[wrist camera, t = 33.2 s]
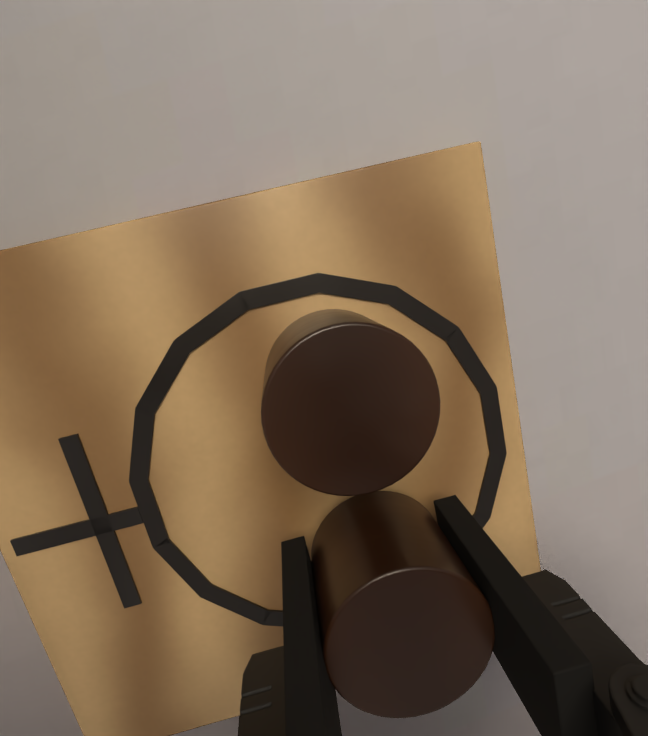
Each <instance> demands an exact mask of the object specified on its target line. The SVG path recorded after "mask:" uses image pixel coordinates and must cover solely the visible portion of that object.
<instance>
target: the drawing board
mask: <svg viewBox="0 0 648 736" xmlns="http://www.w3.org/2000/svg"><path fill="white" fill-rule="evenodd" d="M325 309H342V310H348V311H352V312H355V313H358V314H361V315H363V316H365V317H367V318H369V319H371V320H374V321H376V322H378V323H380V324H382V325H384V326H386V327H388V328H390V329H392V330H394V331H396V332H398V333H400V334H402V335H403V336H404V337H406V338H407V339H408V340H410V341H411V342H412V343H413V344H414V345H415V346H416V347H417V348H418V349H419V350H420V351H421V352H422V353H423V355H424V356H425V357H426V358H427V360H428V362H429V364H430V365H431V367H432V369H433V371H434V374H435V376H436V379H437V383H438V387H439V392H440V417H439V424H438V427H437V431H436V434H435V437H434V439H433V441H432V444H431V446H430V447H429V449H428V451H427V452H426V454H425V456H424V457H423V458H422V460H421V461H420V462H419V463H418V464H417V466H416V467H415V468H414V469H413V470H412V471H411V472H409V473H408V474H407V475H406V476H404V477H403V478H402V479H400V480H399V481H397V482H396V483H394V484H392V485H390V486H388V487H386V488H384V489H382V490H379V491H392V492H398V493H401V494H404V495H407V496H409V497H411V498H413V499H415V500H416V501H418V502H420V503H421V504H422V505H423V506H424V507H425V508H426V509H427V510H428V511H429V512H430V513H431V515H432V516H433V518H434V519H435V521H436V522H437V517H436V512H435V507H434V502H433V501H434V500H438V499H441V498H445V497H449V496H453V495H456V496H457V497H458V499H459V500H460V501H461V502H462V504H463V505H464V506H465V507H466V509H467V510H468V511H469V512H470V514H471V515H472V516H473V517H474V518H475V520H476V521H477V522H478V523H479V525H480V526H481V527H482V528H483V530H484V531H485V532H486V533H487V535H488V536H489V537H490V538H491V540H492V541H493V542H494V543H495V544H496V546H497V547H498V548H499V549H500V551H501V552H502V553H503V554H504V556H505V557H506V558H507V559H508V561H509V562H510V563H511V564H512V565H513V567H514V568H515V569H516V570H517V572H518V573H519V574H520V575H521V577H522V576H526V575H529V574H533V573H536V572H540V571H541V569H540V562H539V555H538V548H537V540H536V533H535V526H534V519H533V512H532V505H531V498H530V491H529V483H528V476H527V469H526V462H525V455H524V448H523V441H522V434H521V427H520V419H519V412H518V405H517V398H516V391H515V384H514V377H513V370H512V362H511V355H510V348H509V341H508V334H507V327H506V320H505V313H504V305H503V298H502V291H501V284H500V277H499V270H498V263H497V256H496V249H495V241H494V234H493V227H492V220H491V213H490V206H489V199H488V192H487V184H486V177H485V170H484V163H483V156H482V149H481V143H480V142H473V143H469V144H465V145H460V146H456V147H451V148H447V149H443V150H438V151H434V152H429V153H425V154H421V155H416V156H412V157H408V158H403V159H399V160H394V161H390V162H386V163H381V164H377V165H372V166H368V167H364V168H359V169H355V170H351V171H346V172H342V173H337V174H333V175H329V176H324V177H320V178H316V179H311V180H307V181H302V182H298V183H294V184H289V185H285V186H280V187H276V188H272V189H267V190H263V191H259V192H254V193H250V194H245V195H241V196H237V197H232V198H228V199H223V200H219V201H215V202H210V203H206V204H202V205H197V206H193V207H188V208H184V209H180V210H175V211H171V212H166V213H162V214H158V215H153V216H149V217H145V218H140V219H136V220H131V221H127V222H123V223H118V224H114V225H110V226H105V227H101V228H96V229H92V230H88V231H83V232H79V233H74V234H70V235H66V236H61V237H57V238H53V239H48V240H44V241H39V242H35V243H31V244H26V245H22V246H17V247H13V248H9V249H4V250H0V550H1V553H2V555H3V557H4V559H5V561H6V564H7V566H8V568H9V570H10V573H11V575H12V577H13V579H14V582H15V584H16V586H17V588H18V590H19V593H20V595H21V597H22V599H23V602H24V604H25V606H26V608H27V610H28V613H29V615H30V617H31V619H32V622H33V624H34V626H35V628H36V630H37V633H38V635H39V637H40V639H41V642H42V644H43V646H44V648H45V651H46V653H47V655H48V657H49V659H50V662H51V664H52V666H53V668H54V671H55V673H56V675H57V677H58V679H59V682H60V684H61V686H62V688H63V691H64V693H65V695H66V697H67V699H68V702H69V704H70V706H71V708H72V711H73V713H74V715H75V717H76V720H77V722H78V724H79V726H80V728H81V731H82V733H83V735H84V736H170V735H174V734H177V733H180V732H184V731H187V730H191V729H194V728H198V727H201V726H205V725H208V724H212V723H215V722H218V721H222V720H225V719H229V718H232V717H236V716H239V715H240V703H241V699H242V696H241V690H242V678H243V673H244V671H245V668H246V666H247V664H248V662H249V660H250V658H251V656H252V654H255V653H259V652H262V651H266V650H269V649H273V648H276V647H280V646H284V644H283V599H282V554H281V542H283V541H286V540H290V539H294V538H297V537H301V536H304V537H305V541H306V545H307V548H308V552H309V556H310V559H311V548H312V543H313V539H314V536H315V534H316V531H317V529H318V528H319V526H320V524H321V522H322V521H323V520H324V518H325V517H326V516H327V515H328V514H329V513H330V512H331V511H332V510H333V509H334V508H335V507H336V506H338V505H339V504H340V503H342V502H344V501H345V500H347V499H349V498H351V497H353V496H336V495H330V494H325V493H322V492H319V491H316V490H313V489H311V488H309V487H307V486H305V485H303V484H301V483H300V482H298V481H296V480H295V479H294V478H292V477H291V476H290V475H289V474H288V473H286V471H285V470H284V469H283V468H282V467H281V466H280V465H279V464H278V462H277V461H276V460H275V458H274V457H273V455H272V453H271V451H270V449H269V447H268V446H267V443H266V440H265V437H264V434H263V429H262V424H261V401H262V392H263V384H264V375H265V367H266V362H267V358H268V355H269V353H270V350H271V348H272V346H273V344H274V342H275V341H276V339H277V338H278V337H279V335H280V334H281V333H282V332H283V331H284V330H285V329H286V328H287V327H288V326H289V325H290V324H291V323H293V322H294V321H296V320H297V319H299V318H300V317H303V316H305V315H307V314H309V313H312V312H316V311H320V310H325ZM437 524H438V522H437Z"/></svg>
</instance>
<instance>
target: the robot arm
mask: <svg viewBox="0 0 648 736" xmlns="http://www.w3.org/2000/svg"><path fill="white" fill-rule="evenodd" d="M433 502H434V507H435V512H436V517H437V522H438V525H439V527H440V528H441V530H442V532H443V533H444V535H445V536H446V538H447V539H448V541H449V542H450V544H451V545H452V547H453V548H454V550H455V552H456V553H457V555H458V556H459V558H460V559H461V561H462V562H463V564H464V565H465V567H466V568H467V570H468V572H469V573H470V575H471V576H472V578H473V579H474V581H475V582H476V584H477V585H478V587H479V588H480V590H481V591H482V593H483V595H484V596H485V598H486V599H487V601H488V603H489V605H490V609H491V612H492V617H493V623H494V629H495V641H494V647H493V652H494V654H495V656H496V657H497V659H498V661H499V663H500V664H501V666H502V668H503V670H504V671H505V673H506V675H507V677H508V678H509V680H510V682H511V684H512V685H513V687H514V689H515V690H516V692H517V694H518V696H519V697H520V699H521V701H522V703H523V704H524V706H525V708H526V710H527V711H528V713H529V715H530V717H531V718H532V720H533V722H534V724H535V725H536V727H537V729H538V731H539V732H540V734H541V736H648V665H646V664H644V663H643V662H642V661H640V660H639V659H638V658H637V657H636V655H635V654H634V653H633V652H632V651H631V650H630V649H629V648H628V647H627V646H626V645H625V644H624V643H623V642H622V641H621V640H620V638H619V637H618V636H617V635H616V634H615V633H614V632H613V631H612V630H611V629H610V628H609V627H608V626H607V625H606V624H605V622H604V621H603V620H602V619H601V618H600V617H599V616H598V615H597V614H596V613H595V612H593V611H592V610H591V608H590V607H589V605H588V604H587V603H586V602H585V601H584V600H583V599H581V598H580V596H579V595H578V594H577V593H576V592H575V591H574V590H573V588H572V587H571V586H570V585H569V584H568V583H567V582H566V581H565V580H563V579H561V578H559V577H558V576H556V575H554V574H552V573H550V572H549V571H547V570H543V571H540V572H536V573H533V574H529V575H526V576H522V577H521V575H520V574H519V573H518V572H517V570H516V569H515V568H514V567H513V565H512V564H511V563H510V562H509V561H508V559H507V558H506V557H505V556H504V554H503V553H502V552H501V551H500V549H499V548H498V547H497V546H496V544H495V543H494V542H493V541H492V540H491V538H490V537H489V536H488V535H487V533H486V532H485V531H484V530H483V528H482V527H481V526H480V525H479V523H478V522H477V521H476V520H475V518H474V517H473V516H472V515H471V514H470V512H469V511H468V510H467V509H466V507H465V506H464V505H463V504H462V502H461V501H460V500H459V499H458V497H457V496H456V495H453V496H449V497H445V498H441V499H438V500H434V501H433ZM281 554H282V599H283V644H284V646H280V647H276V648H273V649H269V650H266V651H262V652H259V653H255V654H252V656H251V658H250V660H249V662H248V664H247V666H246V668H245V671H244V673H243V678H242V690H241V696H242V699H241V703H240V716H239V727H238V736H342V733H341V726H340V719H339V712H338V705H337V698H336V691H335V688H334V686H333V684H332V683H331V681H330V679H329V676H328V673H327V670H326V666H325V662H324V658H323V651H322V643H321V635H320V627H319V619H318V611H317V603H316V595H315V587H314V579H313V571H312V563H311V559H310V556H309V552H308V548H307V545H306V541H305V537H304V536H301V537H297V538H294V539H290V540H286V541H283V542H281Z"/></svg>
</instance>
